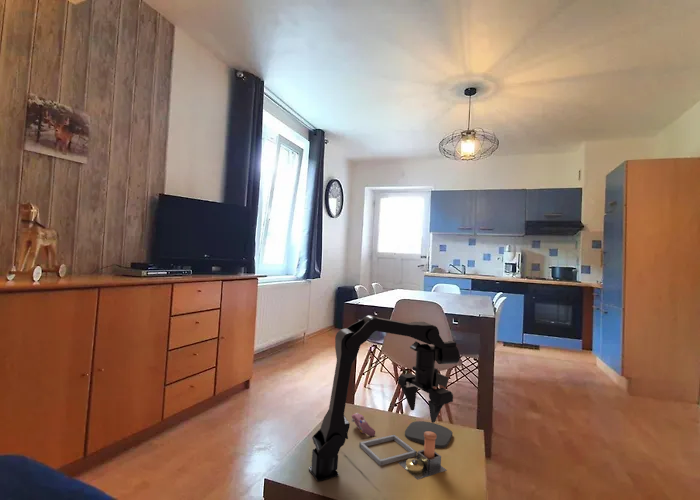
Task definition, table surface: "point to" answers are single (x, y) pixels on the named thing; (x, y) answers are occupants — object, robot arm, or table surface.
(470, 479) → the table surface
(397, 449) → the table surface
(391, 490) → the table surface
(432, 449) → the pin
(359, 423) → the video game controller
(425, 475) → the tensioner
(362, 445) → the tray
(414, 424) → the media streaming box
